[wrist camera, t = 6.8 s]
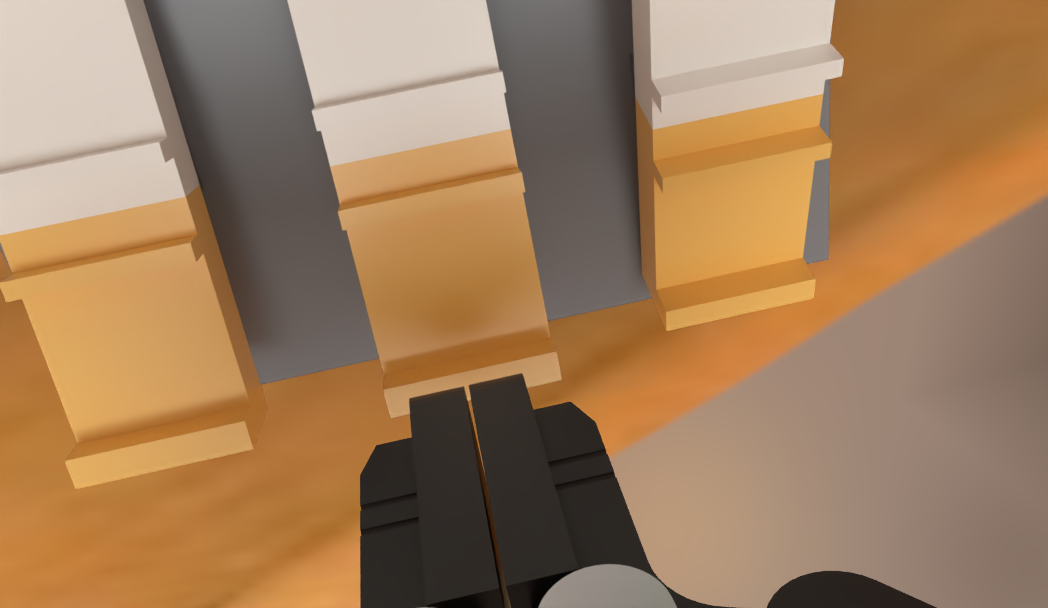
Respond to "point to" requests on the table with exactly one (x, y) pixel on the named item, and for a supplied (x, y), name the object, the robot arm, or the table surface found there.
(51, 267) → the switch
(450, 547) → the robot arm
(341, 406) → the table surface
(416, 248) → the switch middle
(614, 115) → the switch panel
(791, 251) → the switch
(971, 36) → the table surface
